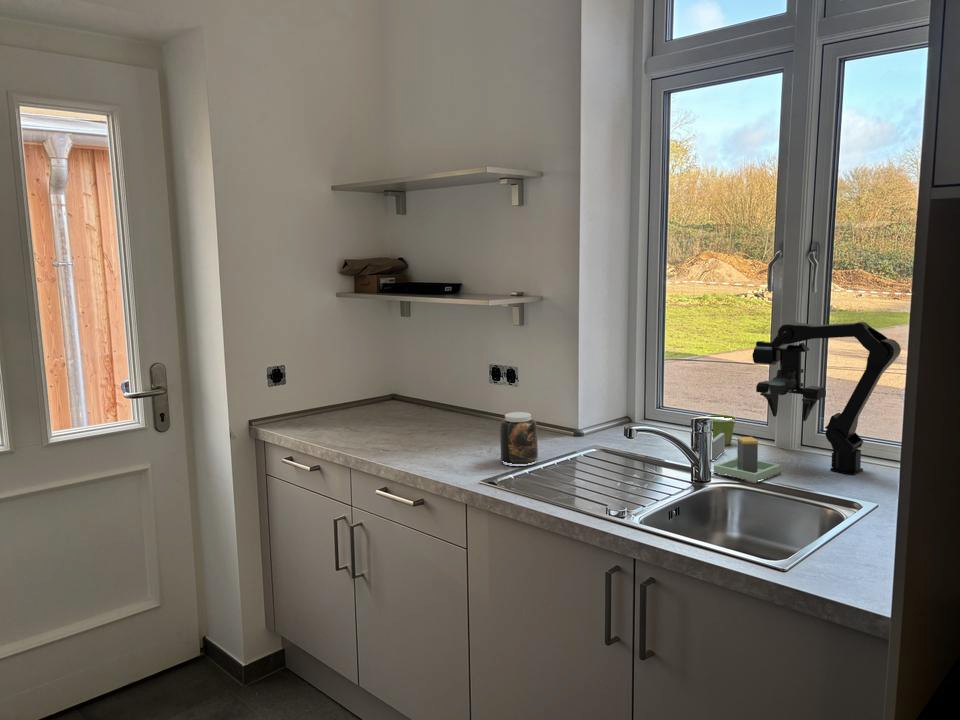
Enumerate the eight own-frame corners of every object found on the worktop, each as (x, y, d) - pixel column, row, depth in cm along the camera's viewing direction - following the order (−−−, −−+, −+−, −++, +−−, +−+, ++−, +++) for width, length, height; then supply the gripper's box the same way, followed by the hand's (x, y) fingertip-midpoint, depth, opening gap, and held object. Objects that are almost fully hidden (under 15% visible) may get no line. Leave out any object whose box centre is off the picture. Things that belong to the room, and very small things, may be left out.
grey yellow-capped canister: (751, 469, 212) (751, 436, 211) (757, 474, 207) (757, 441, 206) (737, 469, 212) (737, 437, 211) (742, 474, 208) (743, 441, 206)
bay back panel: (724, 451, 233) (724, 433, 233) (713, 461, 223) (713, 441, 223) (720, 451, 234) (720, 432, 233) (709, 460, 224) (709, 441, 223)
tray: (780, 473, 209) (781, 464, 209) (755, 483, 201) (755, 474, 201) (739, 464, 219) (739, 456, 219) (713, 473, 211) (713, 465, 211)
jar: (492, 463, 231) (491, 415, 229) (517, 455, 239) (515, 409, 237) (522, 469, 223) (520, 420, 221) (546, 460, 231) (544, 413, 229)
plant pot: (738, 447, 238) (738, 421, 237) (707, 447, 240) (707, 420, 239) (734, 440, 247) (734, 414, 246) (704, 440, 249) (705, 414, 248)
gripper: (746, 366, 219) (745, 418, 221) (807, 372, 204) (806, 428, 206) (766, 362, 225) (765, 412, 228) (827, 367, 211) (826, 421, 213)
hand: (789, 418), depth 218 cm, fingers open, 9 cm apart
